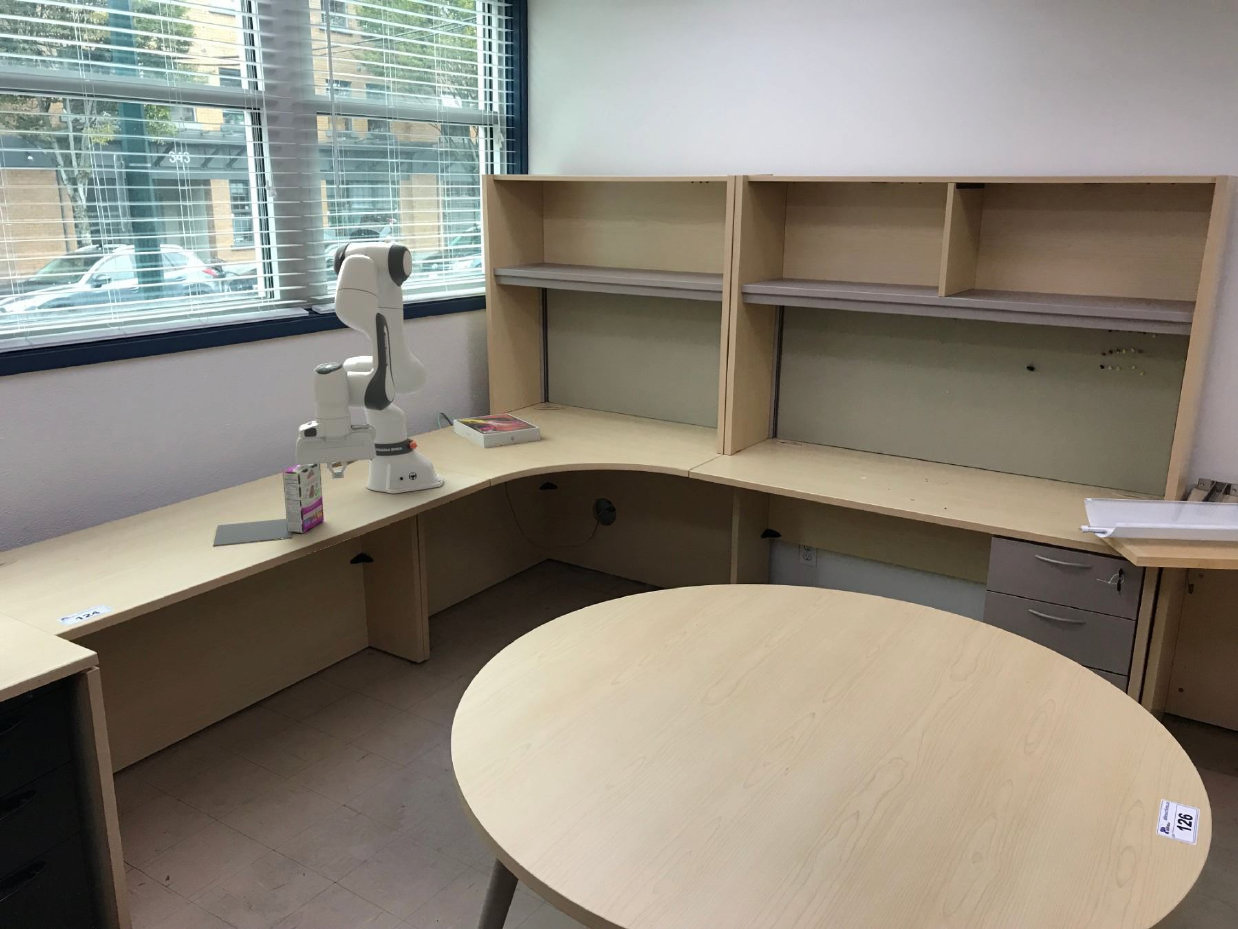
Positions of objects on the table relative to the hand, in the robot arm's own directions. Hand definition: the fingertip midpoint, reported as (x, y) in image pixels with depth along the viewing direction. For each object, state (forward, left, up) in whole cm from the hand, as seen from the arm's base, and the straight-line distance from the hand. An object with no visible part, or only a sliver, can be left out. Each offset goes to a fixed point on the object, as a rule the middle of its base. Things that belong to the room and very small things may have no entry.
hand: (338, 477), depth 255 cm
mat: (+22, 0, -13) cm, 25 cm away
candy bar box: (+9, 0, -13) cm, 16 cm away
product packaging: (-58, -84, -13) cm, 103 cm away
